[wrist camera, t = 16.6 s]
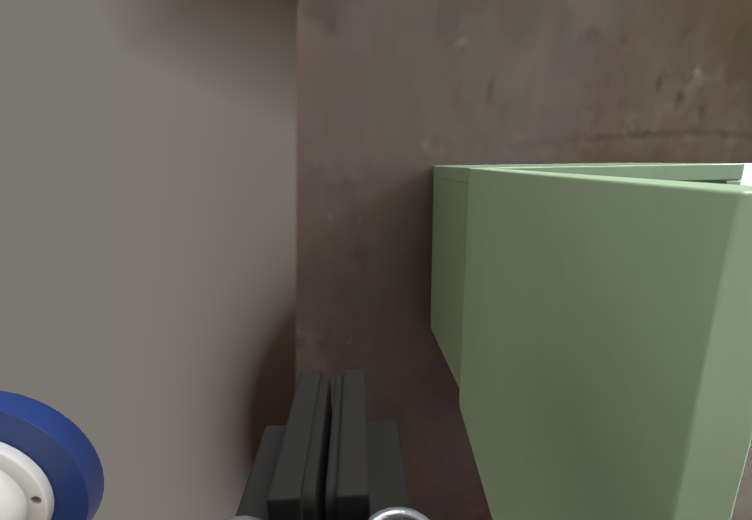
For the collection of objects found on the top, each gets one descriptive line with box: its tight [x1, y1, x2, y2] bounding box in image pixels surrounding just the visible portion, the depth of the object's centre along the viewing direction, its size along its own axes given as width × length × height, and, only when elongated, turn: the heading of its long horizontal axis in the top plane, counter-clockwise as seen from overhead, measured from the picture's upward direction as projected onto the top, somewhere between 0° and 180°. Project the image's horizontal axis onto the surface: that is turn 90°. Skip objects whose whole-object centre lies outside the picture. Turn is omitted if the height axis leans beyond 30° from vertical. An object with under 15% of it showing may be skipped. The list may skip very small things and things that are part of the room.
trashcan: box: [430, 163, 745, 389], centre depth 25 cm, size 14×13×10 cm
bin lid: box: [459, 168, 752, 520], centre depth 13 cm, size 14×13×1 cm
